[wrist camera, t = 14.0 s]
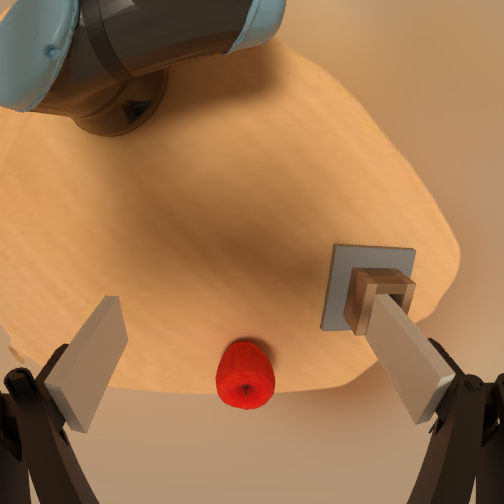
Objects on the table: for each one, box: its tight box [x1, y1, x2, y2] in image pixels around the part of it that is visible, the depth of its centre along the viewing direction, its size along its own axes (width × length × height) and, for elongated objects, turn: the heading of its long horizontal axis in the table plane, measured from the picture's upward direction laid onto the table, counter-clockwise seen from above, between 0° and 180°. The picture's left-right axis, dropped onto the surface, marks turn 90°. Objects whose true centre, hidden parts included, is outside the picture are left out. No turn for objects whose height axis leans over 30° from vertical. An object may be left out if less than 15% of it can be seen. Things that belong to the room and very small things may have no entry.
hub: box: [343, 267, 416, 336], centre depth 40 cm, size 8×8×6 cm
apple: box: [216, 342, 275, 410], centre depth 42 cm, size 9×9×11 cm
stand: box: [320, 244, 416, 331], centre depth 40 cm, size 14×14×9 cm
